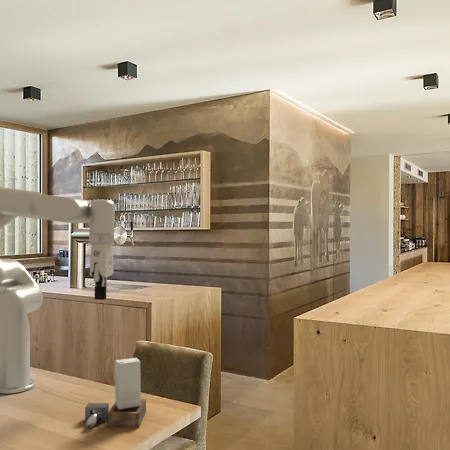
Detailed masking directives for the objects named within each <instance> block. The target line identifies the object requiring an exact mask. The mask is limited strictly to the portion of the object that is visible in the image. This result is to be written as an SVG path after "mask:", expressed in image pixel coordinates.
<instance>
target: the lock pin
mask: <svg viewBox="0 0 450 450" xmlns="http://www.w3.org/2000/svg"><path fill="white" fill-rule="evenodd" d="M100 417H101V411H93V413H92V415H91V416H90V417H89V419H88V420H87V422H85V425H86V427H87V428H89V429H93V427H95V425H96V424H97V423H98V422H97V421H98V419H99V418H100Z"/></svg>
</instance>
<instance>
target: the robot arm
mask: <svg viewBox="0 0 450 450" xmlns="http://www.w3.org/2000/svg"><path fill="white" fill-rule="evenodd" d="M115 209H116V205H115V202H114V200H113V201H112V200H110V199H109V200H108V199H93V200H89V199H81V198H75V197H69V196H68V197H66V196H60V195H59V196H58V195H50V194H44V193H41V192H38V191H32V190H26V189H25V190H24V189H17V188H9V187H3V186H2V187H0V230H1V229H3V228H4V227H6V226H7V225H8V224H10V223H11V222H13V220H15V219H16V218H17V217H19V218H26V219H27V218H28V219H32V220H33V219H34V220H38V219H39V220H46V221H52V222H59V223H66V224H86V223H88V224H89V228H88V231H89V232H88V235H89V236H88V245H89V246H90V245H91V249H90V257H89V275H90V277H92V278H93V282H94V300H99V301H100V300H101V301H104V300H107V285H108V284H107V283H108V277H110V276H112V275H113V274H114V250H113V249H114V247H113V246H114V245H115V217H116V216H115V215H116V214H115V211H116V210H115ZM2 289H3V290H2ZM0 290H1V291H0V395H3V394H4V395H5V394H6V395H7V394H16V393H17V394H18V393H22V392H26V391H28V390H31V389H33V388H34V387H35V385H36V381H35V379H33V378H32V377H31V325H30V321H29V318H28V314H29V313H33V312H35V311H37V310H38V309H39V308H40V307H41V306H42V304H43V301H44V295H43V292H42V289H41V288H40V286H39V285H38V283H37V282H36V280H34V278H33V277H32V276H31V274H30V273H29V271H28V270H27V269H26V268H25V266H24V265H23V264H22V263H21V262H19V261H18V260H16V259H14V258H0Z"/></svg>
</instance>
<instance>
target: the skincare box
mask: <svg viewBox="0 0 450 450" xmlns="http://www.w3.org/2000/svg"><path fill="white" fill-rule="evenodd" d="M141 375H142V374H141V361H140V359H138V358H137V357H131V358H123V359H116V360H114V382H115V383H114V386H115V387H114V390H115V391H114V393H115V397H114V398H115V401H114V403H115V404H116V406H117V408H118V409H125V408H131V407H137V406H141V399H142V398H141V395H142V388H141V386H142V384H141V383H142V382H141Z"/></svg>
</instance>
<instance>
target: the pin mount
mask: <svg viewBox="0 0 450 450" xmlns="http://www.w3.org/2000/svg"><path fill="white" fill-rule="evenodd" d="M109 405H110V404H109V402H107V403H106V402H104V403H103V402H99V403H98V402H89V403H87V404H86V406H85V407H84V422H85V423H86V422H87V420H88V419H89V417H90V416H91V415H92V413H93V412H94V411H101V416H100V418H99V419H98V421H97V422H96V423H106V422H108V412H109V411H110V409H109V408H110V406H109Z"/></svg>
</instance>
